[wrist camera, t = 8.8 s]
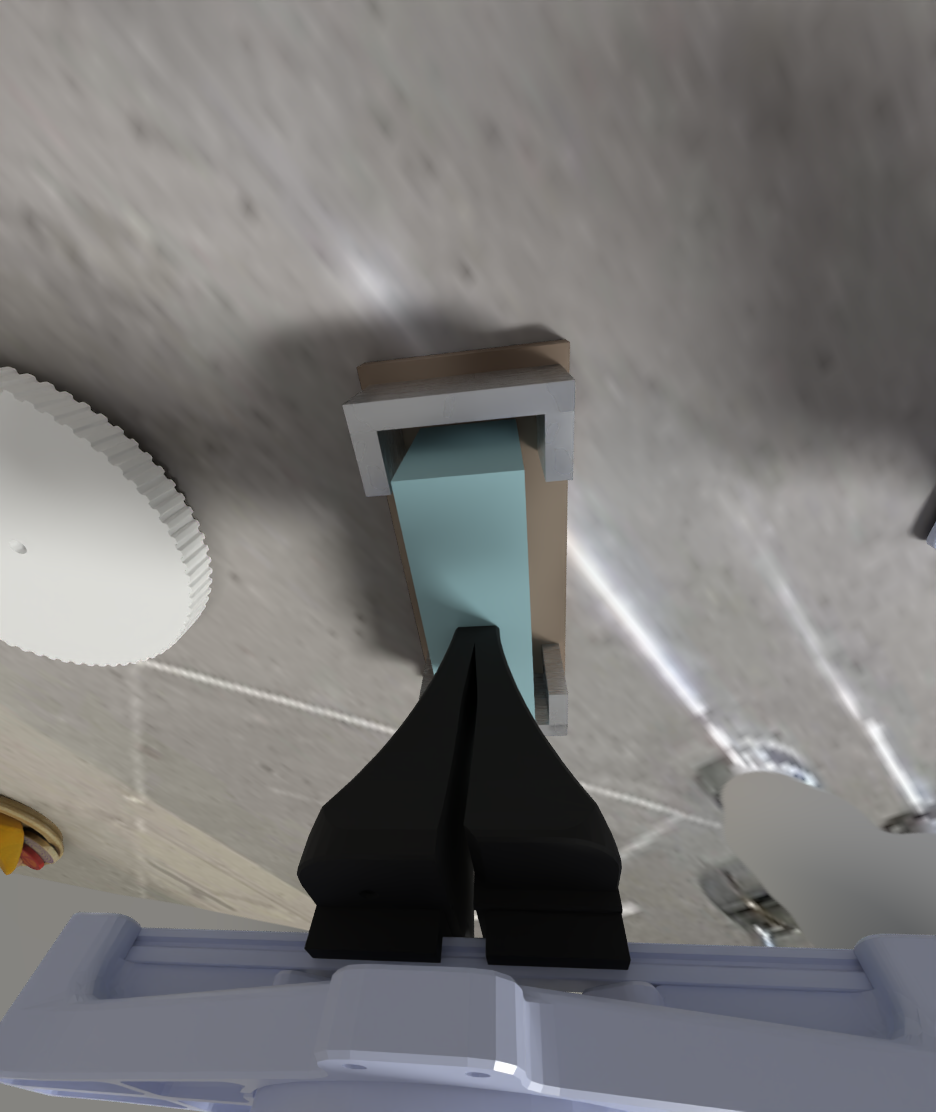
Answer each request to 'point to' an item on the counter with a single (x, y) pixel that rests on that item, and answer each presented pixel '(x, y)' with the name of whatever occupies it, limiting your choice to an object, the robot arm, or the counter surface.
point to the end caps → (466, 400)
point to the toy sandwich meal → (26, 837)
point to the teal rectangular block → (469, 537)
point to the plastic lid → (89, 535)
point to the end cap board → (541, 496)
